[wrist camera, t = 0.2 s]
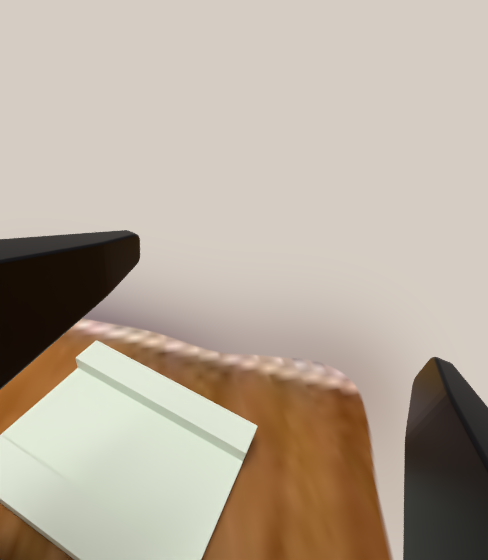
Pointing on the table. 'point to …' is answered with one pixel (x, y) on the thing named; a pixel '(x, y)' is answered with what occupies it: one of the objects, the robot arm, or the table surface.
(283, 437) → the table surface
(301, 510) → the table surface
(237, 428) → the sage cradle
